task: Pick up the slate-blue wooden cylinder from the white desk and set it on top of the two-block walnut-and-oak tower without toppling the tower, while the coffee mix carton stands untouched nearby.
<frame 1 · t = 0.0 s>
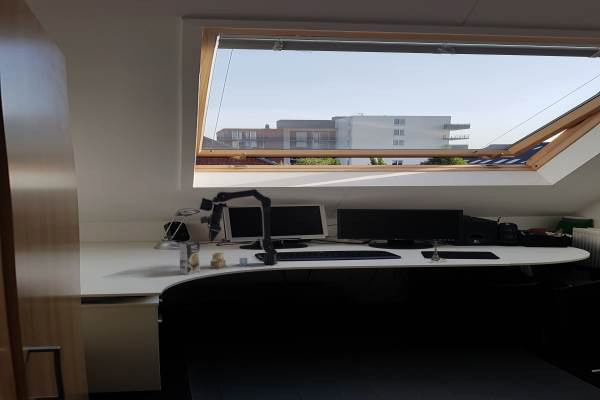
hand: (210, 240, 246), 15 cm above the table, tool pointing down, fingers open, 9 cm apart
cylinder: (243, 264, 254), on the table
eiffel tower figurine: (435, 261, 270), on the table
base block: (218, 267, 248), on the table, touching top block
coffee box: (190, 272, 236), on the table
top block: (217, 260, 247), point 4 cm above the table, touching base block
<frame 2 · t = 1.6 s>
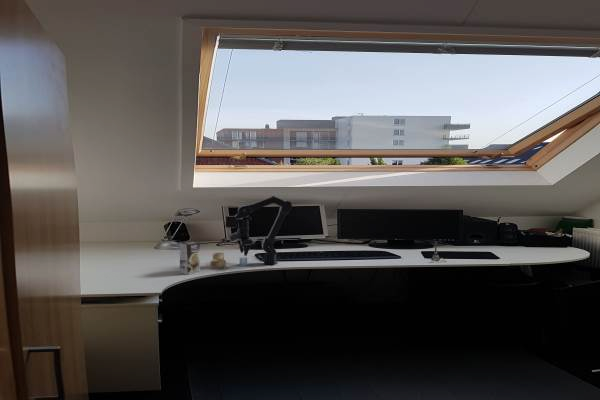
hand: (243, 254, 253), 6 cm above the table, tool pointing down, fingers open, 9 cm apart
base block: (218, 267, 248), on the table
top block: (218, 260, 247), point 4 cm above the table
everything else where it was.
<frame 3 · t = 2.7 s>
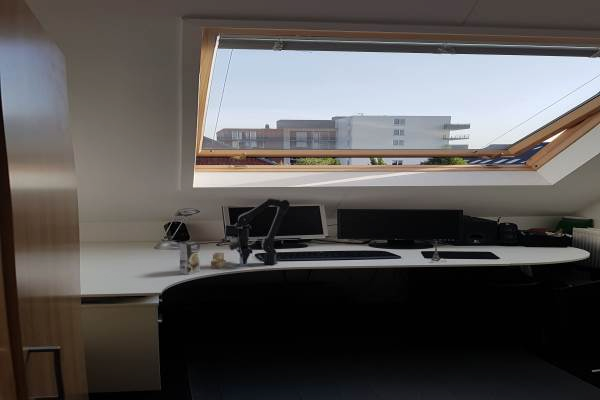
hand: (243, 263, 254), 1 cm above the table, tool pointing down, fingers closed on cylinder, 4 cm apart
cylinder: (243, 264, 254), on the table, touching gripper
base block: (218, 267, 248), on the table, touching top block
top block: (218, 260, 247), point 4 cm above the table, touching base block
everything else where it was.
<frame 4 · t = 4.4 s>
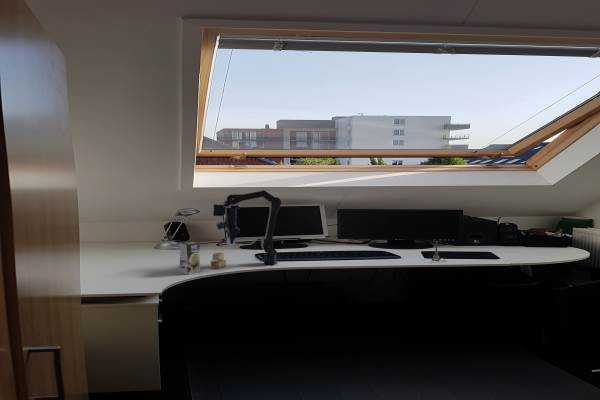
hand: (230, 243, 250), 13 cm above the table, tool pointing down, fingers closed on cylinder, 4 cm apart
cylinder: (230, 245, 250), point 12 cm above the table, touching gripper
everything else where it was.
when the fingers open (10 cm above the table, at t = 5.6 s): cylinder drops 2 cm, resting on top block.
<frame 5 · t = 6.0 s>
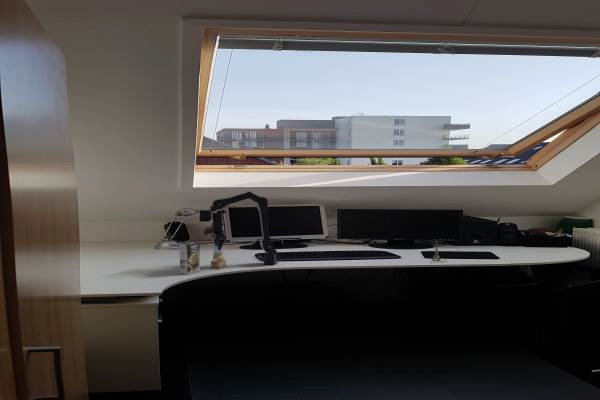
hand: (217, 248, 247), 10 cm above the table, tool pointing down, fingers open, 8 cm apart
cylinder: (217, 253, 247), point 8 cm above the table, touching top block
top block: (218, 260, 247), point 4 cm above the table, touching base block, cylinder
everything else where it was.
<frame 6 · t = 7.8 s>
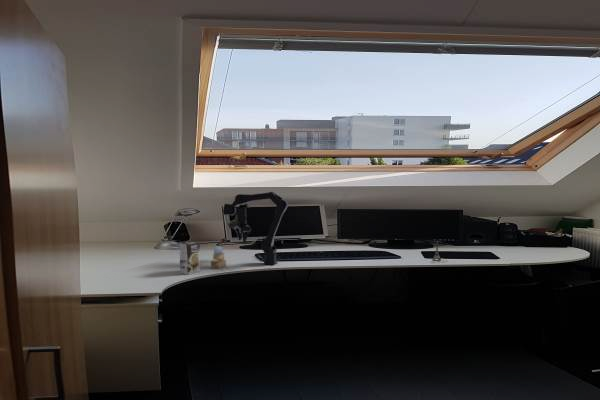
hand: (241, 241, 258), 13 cm above the table, tool pointing down, fingers open, 9 cm apart
nothing on the table moved.
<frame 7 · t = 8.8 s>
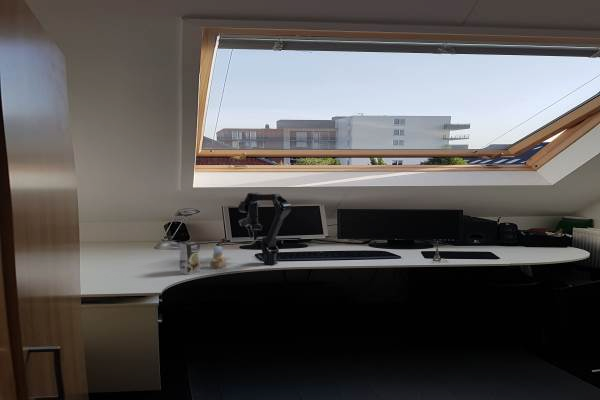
hand: (253, 239, 265), 13 cm above the table, tool pointing down, fingers open, 9 cm apart
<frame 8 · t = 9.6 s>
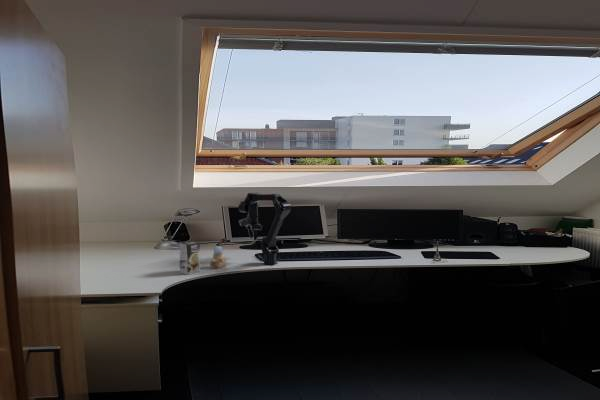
hand: (253, 239, 265), 13 cm above the table, tool pointing down, fingers open, 9 cm apart
at the end: cylinder 0.4 cm off-centre on the top block, point 4.0 cm above the top block's base; top block tilted 0°; base block moved 0.4 cm from its start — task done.
